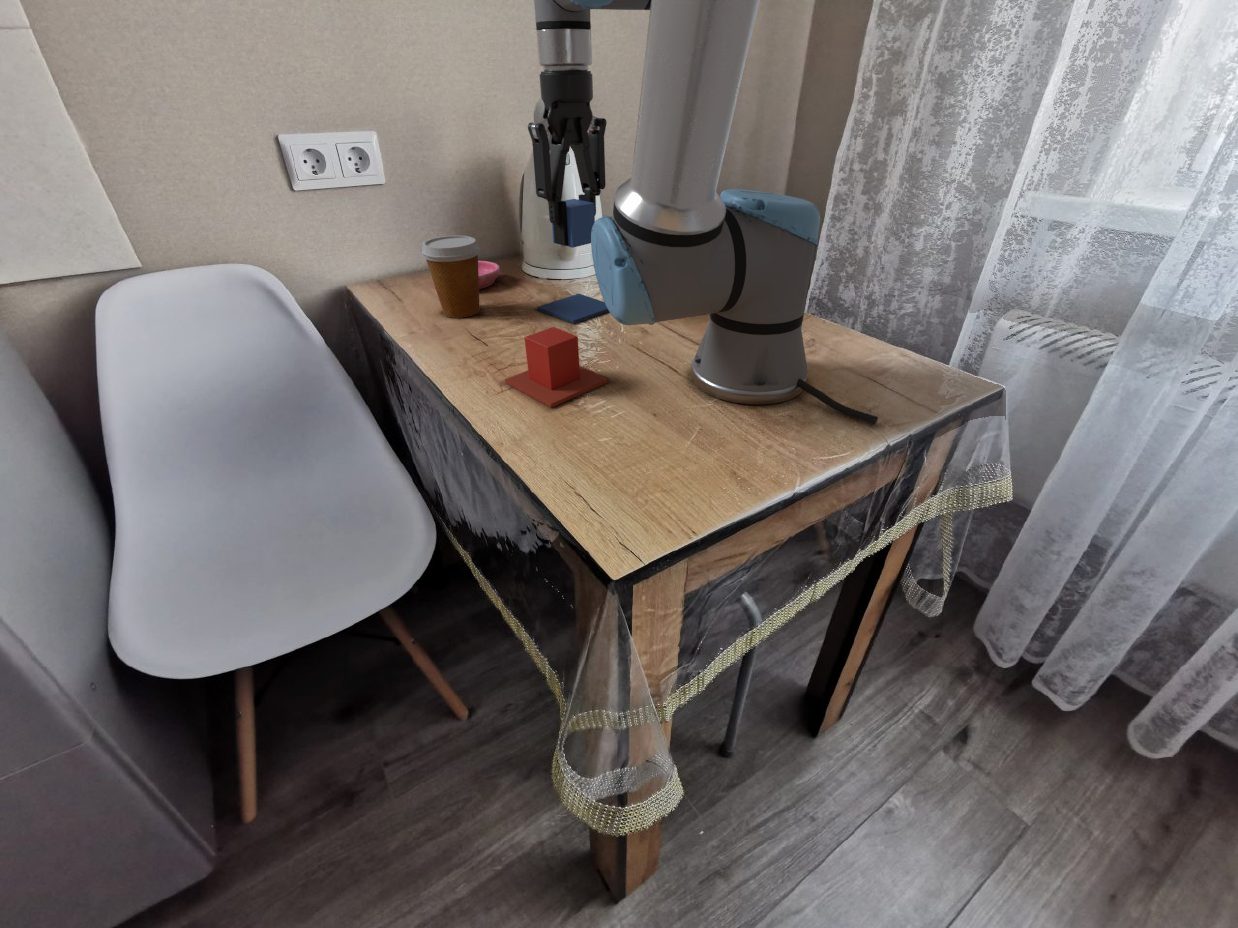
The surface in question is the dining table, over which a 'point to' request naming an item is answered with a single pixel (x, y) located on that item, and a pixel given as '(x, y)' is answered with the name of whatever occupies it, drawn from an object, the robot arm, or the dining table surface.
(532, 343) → the red block
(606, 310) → the blue mat
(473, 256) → the disposable coffee cup
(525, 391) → the red mat
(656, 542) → the dining table surface
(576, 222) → the blue block
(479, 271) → the pink bowl
